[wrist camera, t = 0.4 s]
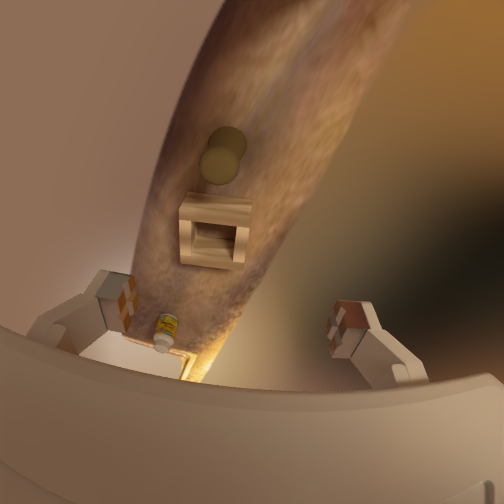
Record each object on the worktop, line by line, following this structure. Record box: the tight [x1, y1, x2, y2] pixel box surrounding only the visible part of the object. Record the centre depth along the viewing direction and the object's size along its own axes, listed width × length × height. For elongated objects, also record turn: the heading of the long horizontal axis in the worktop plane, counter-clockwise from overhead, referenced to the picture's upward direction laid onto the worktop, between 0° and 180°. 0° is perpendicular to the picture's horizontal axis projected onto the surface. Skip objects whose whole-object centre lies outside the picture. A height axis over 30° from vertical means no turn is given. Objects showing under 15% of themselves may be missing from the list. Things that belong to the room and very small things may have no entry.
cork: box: [199, 127, 246, 185], centre depth 38 cm, size 6×6×11 cm
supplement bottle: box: [153, 313, 178, 353], centre depth 68 cm, size 5×5×10 cm
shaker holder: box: [179, 192, 252, 271], centre depth 49 cm, size 11×11×6 cm
